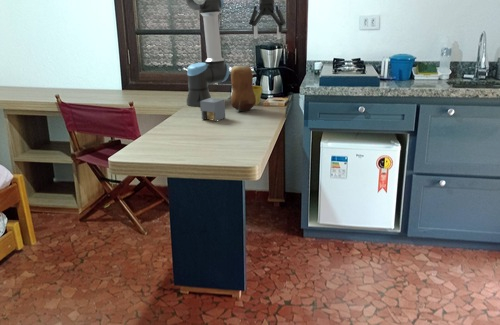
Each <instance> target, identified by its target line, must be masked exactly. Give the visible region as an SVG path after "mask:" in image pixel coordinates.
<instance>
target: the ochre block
mask: <svg viewBox="0 0 500 325" xmlns="http://www.w3.org/2000/svg"><path fill="white" fill-rule="evenodd" d="M207 119H213V120H215V112H207ZM207 119H206V120H207ZM213 120H212V121H213Z"/></svg>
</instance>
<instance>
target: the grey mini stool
mask: <svg viewBox="0 0 500 325" xmlns="http://www.w3.org/2000/svg"><path fill="white" fill-rule="evenodd" d="M199 107H200V111H201V120H202V119H205V118H207V112H215V121H217V120H220V119H222V120H224V119H223V118H225V119H226V102H225V98H215V97H211V98H209V99H205V100H202V101H200V106H199ZM205 120H206V119H205ZM215 121H214V122H215ZM220 121H221V120H220ZM217 122H218V121H217Z"/></svg>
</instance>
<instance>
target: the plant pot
mask: <svg viewBox="0 0 500 325" xmlns="http://www.w3.org/2000/svg"><path fill="white" fill-rule="evenodd" d="M252 88H253V92H254V94H255V99H256V103H255V105H254V106H258V105H260V101H261V97H262V94H263V86H260V85H253V86H252Z"/></svg>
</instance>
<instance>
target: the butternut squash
mask: <svg viewBox="0 0 500 325" xmlns="http://www.w3.org/2000/svg"><path fill="white" fill-rule="evenodd" d="M230 69H231V70H230V83H231V87H232V91H231V96H230V103H231V106H232V108H235V110H237V111H240V112H248V111H250V110H251V109H252V108H254V106H256V105H255V103H256V99H255V94H254V92H253V88H252V86H254V85H253V83H254V82H253V80H254V79H253V78H254V77H253V72H252V68H251V66H249V65H246V64H245V65H234V66H233V67H231V68H230Z"/></svg>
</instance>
